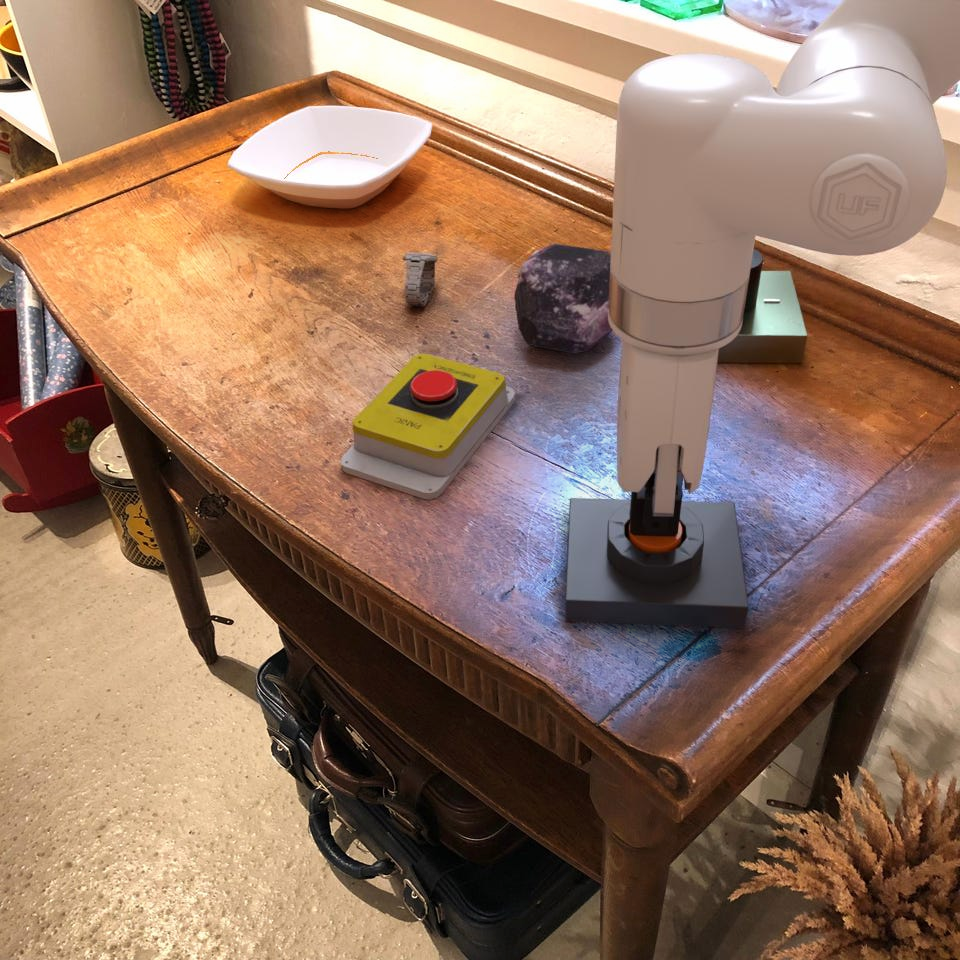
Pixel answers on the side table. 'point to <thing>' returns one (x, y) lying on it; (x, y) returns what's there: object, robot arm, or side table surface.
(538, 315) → the mineral specimen
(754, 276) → the knob
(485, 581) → the side table surface
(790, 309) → the panel
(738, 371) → the side table surface
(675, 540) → the button
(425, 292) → the wristwatch
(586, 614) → the button block
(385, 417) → the emergency button
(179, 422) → the side table surface
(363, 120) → the bowl
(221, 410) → the side table surface
